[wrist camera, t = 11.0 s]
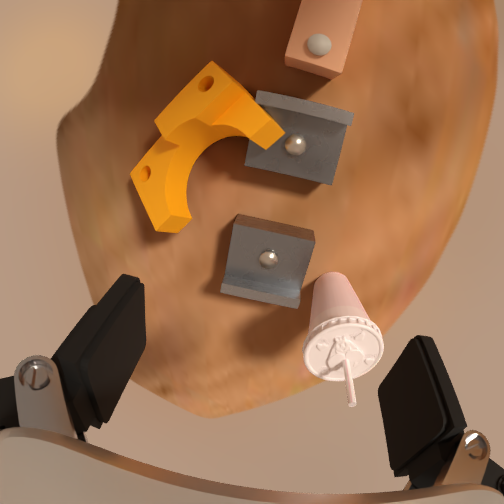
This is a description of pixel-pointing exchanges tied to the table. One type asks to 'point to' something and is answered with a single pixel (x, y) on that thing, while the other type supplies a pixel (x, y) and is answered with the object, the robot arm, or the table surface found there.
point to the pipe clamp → (196, 141)
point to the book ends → (273, 233)
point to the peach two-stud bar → (322, 36)
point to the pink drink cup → (340, 334)
